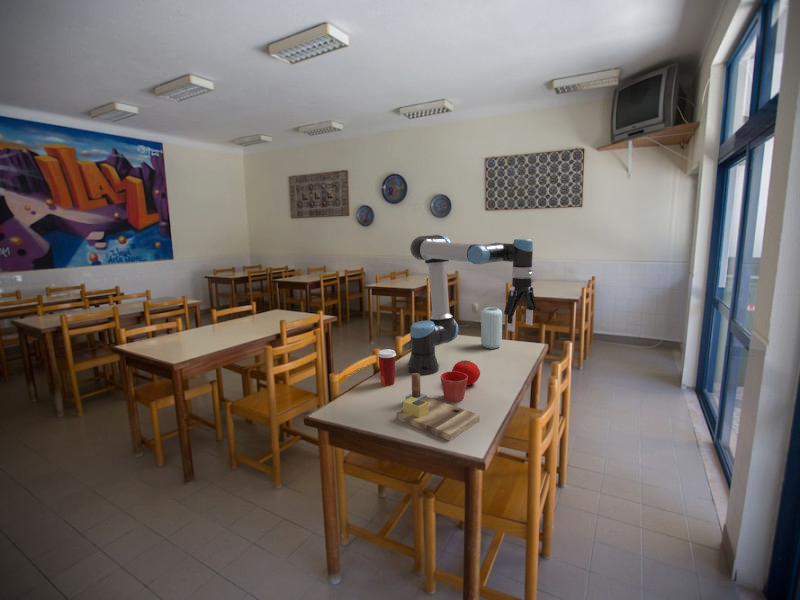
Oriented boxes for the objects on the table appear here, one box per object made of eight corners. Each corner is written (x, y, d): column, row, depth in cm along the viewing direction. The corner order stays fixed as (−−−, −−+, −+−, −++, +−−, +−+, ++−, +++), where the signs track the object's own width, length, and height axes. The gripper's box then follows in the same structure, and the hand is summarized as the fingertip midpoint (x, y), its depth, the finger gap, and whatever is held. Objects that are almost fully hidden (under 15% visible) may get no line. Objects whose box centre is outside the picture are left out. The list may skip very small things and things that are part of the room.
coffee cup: (399, 381, 184) (399, 350, 181) (391, 388, 176) (390, 355, 174) (383, 379, 187) (382, 348, 184) (375, 385, 180) (373, 353, 177)
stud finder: (402, 411, 149) (402, 400, 148) (411, 406, 153) (411, 395, 152) (419, 417, 144) (419, 406, 143) (428, 412, 148) (428, 401, 147)
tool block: (405, 401, 163) (405, 396, 162) (415, 397, 167) (415, 391, 166) (417, 406, 159) (417, 400, 158) (426, 401, 163) (426, 395, 162)
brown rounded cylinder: (410, 401, 163) (409, 374, 161) (415, 398, 165) (415, 372, 163) (416, 403, 160) (416, 376, 158) (422, 400, 163) (421, 374, 161)
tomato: (459, 376, 188) (459, 355, 186) (483, 382, 181) (484, 359, 179) (447, 385, 179) (447, 362, 177) (472, 390, 172) (473, 367, 170)
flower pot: (461, 406, 157) (461, 382, 156) (436, 400, 163) (435, 377, 161) (471, 396, 166) (471, 373, 164) (447, 391, 172) (447, 369, 170)
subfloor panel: (396, 419, 149) (396, 412, 148) (427, 402, 162) (427, 396, 161) (450, 441, 133) (450, 434, 132) (479, 420, 146) (479, 414, 145)
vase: (481, 349, 227) (481, 310, 223) (480, 343, 238) (481, 306, 234) (502, 349, 225) (503, 310, 221) (500, 343, 237) (501, 306, 233)
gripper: (512, 281, 154) (510, 335, 158) (546, 274, 170) (544, 323, 174) (496, 279, 159) (494, 331, 163) (530, 273, 175) (528, 320, 179)
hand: (520, 327), depth 169 cm, fingers open, 13 cm apart
